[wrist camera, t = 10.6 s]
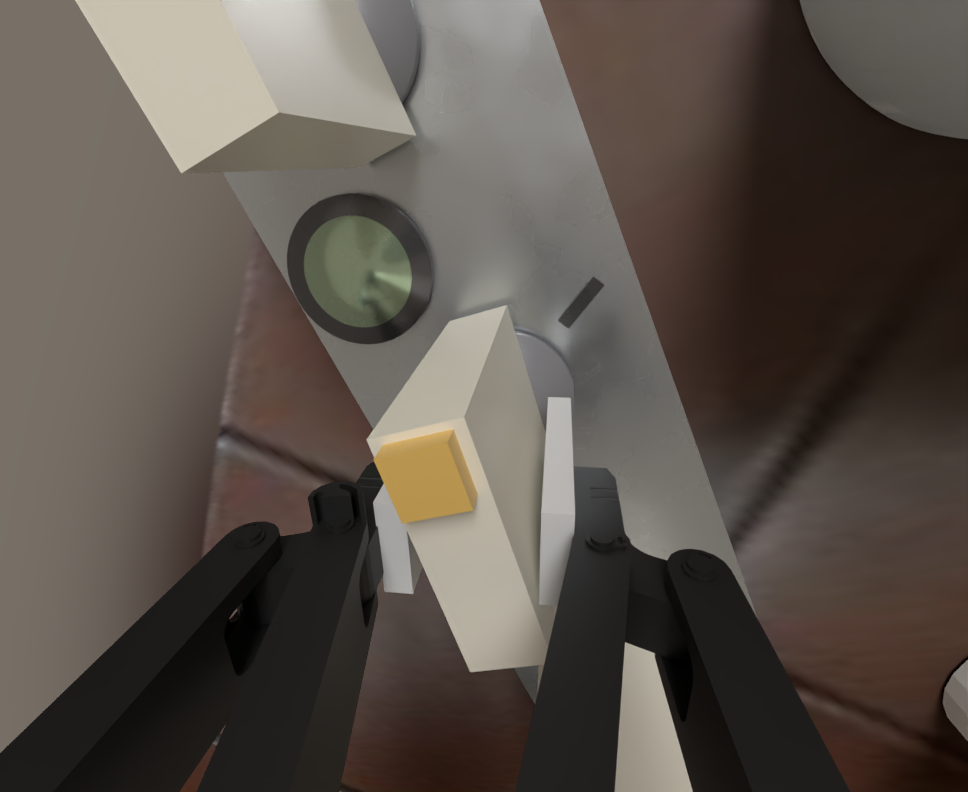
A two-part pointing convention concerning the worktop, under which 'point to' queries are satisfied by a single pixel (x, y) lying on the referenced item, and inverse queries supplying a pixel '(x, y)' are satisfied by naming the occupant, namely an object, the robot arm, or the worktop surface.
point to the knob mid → (477, 481)
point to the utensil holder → (899, 57)
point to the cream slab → (266, 78)
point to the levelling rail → (494, 260)
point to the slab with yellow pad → (645, 730)
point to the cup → (958, 699)
